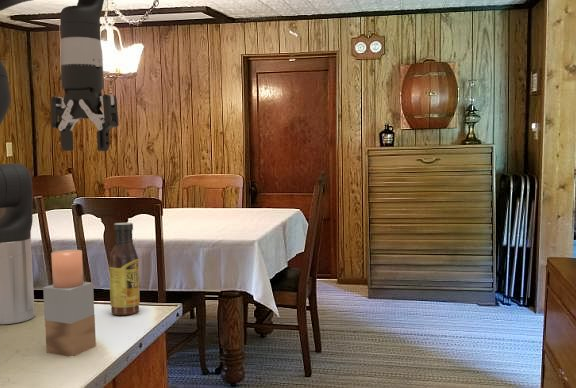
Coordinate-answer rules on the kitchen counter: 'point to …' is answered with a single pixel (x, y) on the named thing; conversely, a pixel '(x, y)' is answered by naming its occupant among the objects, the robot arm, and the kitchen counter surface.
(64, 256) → the clay cylinder
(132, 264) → the sauce bottle
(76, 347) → the walnut block
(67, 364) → the kitchen counter surface
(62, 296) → the slate block
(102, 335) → the kitchen counter surface
